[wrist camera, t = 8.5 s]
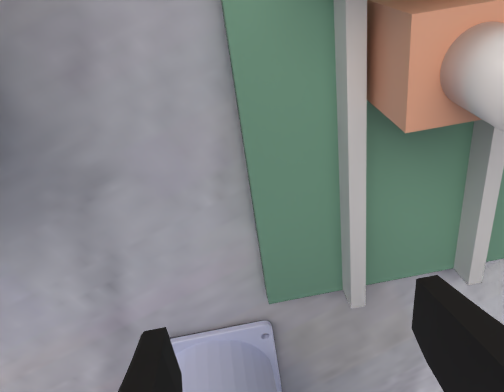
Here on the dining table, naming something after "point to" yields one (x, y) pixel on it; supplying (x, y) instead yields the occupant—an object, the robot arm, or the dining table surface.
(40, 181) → the dining table surface
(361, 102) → the pitch board
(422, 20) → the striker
